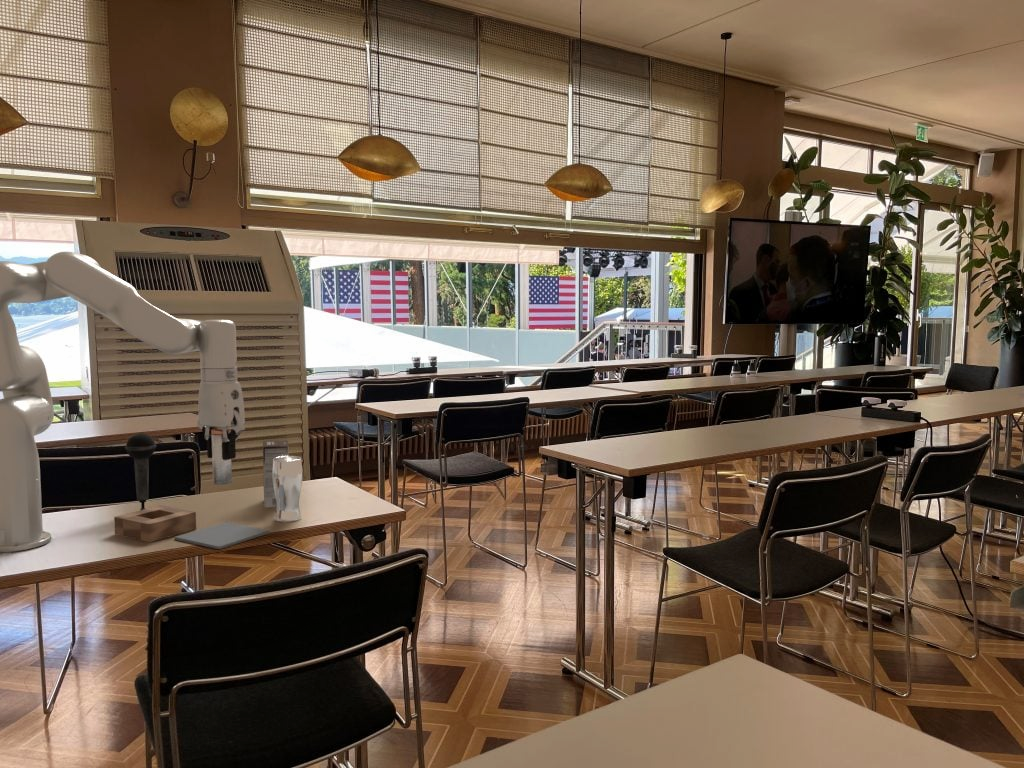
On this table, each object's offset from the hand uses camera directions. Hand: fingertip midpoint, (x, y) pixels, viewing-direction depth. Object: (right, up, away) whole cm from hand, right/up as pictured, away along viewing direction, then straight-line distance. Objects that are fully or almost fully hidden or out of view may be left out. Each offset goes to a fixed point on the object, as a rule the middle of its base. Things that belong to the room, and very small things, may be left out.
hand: (221, 457), depth 168 cm
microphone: (-28, -16, +21) cm, 38 cm away
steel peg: (0, -6, +1) cm, 6 cm away
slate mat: (0, -18, +2) cm, 18 cm away
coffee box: (+2, -15, +32) cm, 36 cm away
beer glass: (+10, -17, +17) cm, 26 cm away
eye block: (-17, -18, +5) cm, 25 cm away
